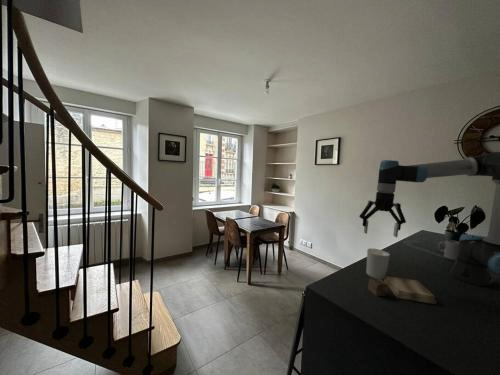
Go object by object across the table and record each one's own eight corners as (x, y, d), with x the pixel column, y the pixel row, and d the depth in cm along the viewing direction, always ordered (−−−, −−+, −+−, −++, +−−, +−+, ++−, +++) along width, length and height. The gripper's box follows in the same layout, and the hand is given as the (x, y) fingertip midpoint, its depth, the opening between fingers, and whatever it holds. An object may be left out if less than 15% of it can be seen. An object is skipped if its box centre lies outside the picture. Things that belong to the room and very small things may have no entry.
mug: (461, 258, 143) (463, 242, 142) (461, 262, 137) (464, 245, 136) (437, 252, 151) (439, 237, 150) (436, 255, 145) (438, 239, 144)
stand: (417, 286, 102) (418, 280, 102) (435, 304, 88) (437, 297, 88) (384, 281, 105) (384, 275, 104) (397, 297, 91) (398, 290, 91)
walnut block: (378, 289, 97) (379, 278, 97) (386, 295, 92) (388, 284, 92) (367, 289, 96) (369, 278, 96) (375, 295, 91) (377, 284, 91)
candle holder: (390, 281, 105) (393, 257, 104) (368, 278, 107) (371, 254, 106) (382, 272, 114) (385, 250, 113) (362, 269, 116) (364, 247, 115)
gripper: (410, 193, 108) (404, 235, 110) (356, 189, 113) (351, 229, 115) (418, 195, 101) (412, 240, 103) (360, 190, 106) (355, 233, 108)
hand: (380, 234), depth 109 cm, fingers open, 13 cm apart
